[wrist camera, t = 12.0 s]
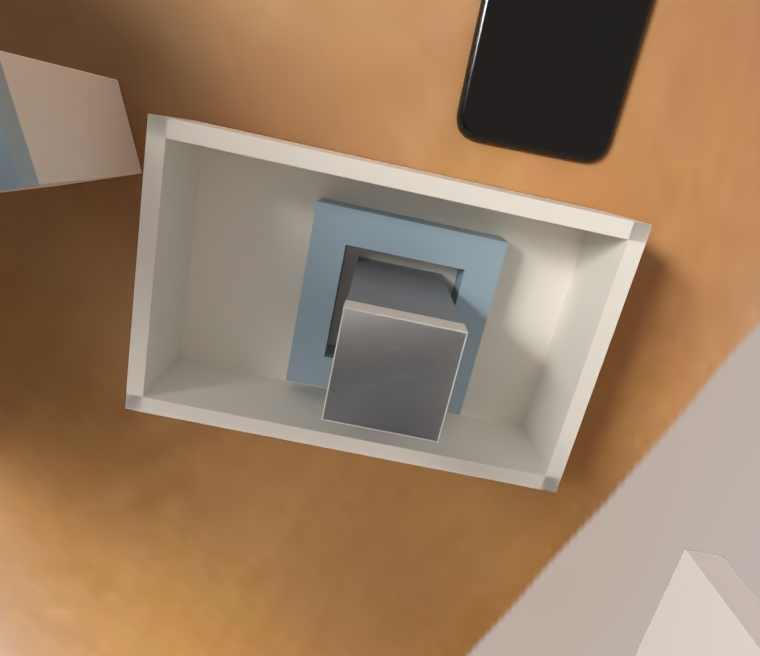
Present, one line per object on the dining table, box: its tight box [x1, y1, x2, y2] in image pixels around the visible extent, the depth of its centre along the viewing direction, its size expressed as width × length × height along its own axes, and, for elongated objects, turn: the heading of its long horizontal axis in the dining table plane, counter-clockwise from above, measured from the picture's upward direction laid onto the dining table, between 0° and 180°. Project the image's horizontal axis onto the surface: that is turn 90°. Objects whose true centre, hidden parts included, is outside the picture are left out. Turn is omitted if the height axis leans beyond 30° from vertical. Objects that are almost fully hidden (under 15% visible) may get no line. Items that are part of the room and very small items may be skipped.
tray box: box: [125, 114, 652, 492], centre depth 28 cm, size 22×14×6 cm, turn 78°
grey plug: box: [321, 257, 468, 442], centre depth 26 cm, size 5×5×10 cm
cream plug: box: [0, 51, 142, 193], centre depth 24 cm, size 5×5×10 cm
